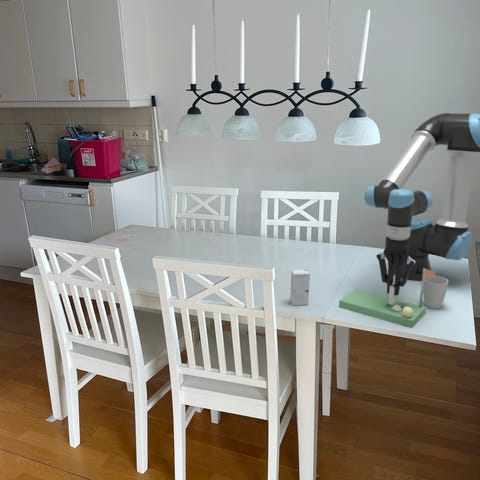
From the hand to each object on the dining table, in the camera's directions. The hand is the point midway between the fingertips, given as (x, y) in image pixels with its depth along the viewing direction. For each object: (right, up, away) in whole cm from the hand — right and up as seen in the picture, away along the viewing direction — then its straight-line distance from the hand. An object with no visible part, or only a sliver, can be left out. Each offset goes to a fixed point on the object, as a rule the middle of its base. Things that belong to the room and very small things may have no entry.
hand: (392, 302), depth 166 cm
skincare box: (-30, -1, +10) cm, 32 cm away
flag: (+11, -2, -2) cm, 11 cm away
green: (-3, -3, +3) cm, 5 cm away
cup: (+16, -2, +6) cm, 17 cm away
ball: (+1, -2, -1) cm, 3 cm away
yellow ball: (+3, -2, -8) cm, 8 cm away
